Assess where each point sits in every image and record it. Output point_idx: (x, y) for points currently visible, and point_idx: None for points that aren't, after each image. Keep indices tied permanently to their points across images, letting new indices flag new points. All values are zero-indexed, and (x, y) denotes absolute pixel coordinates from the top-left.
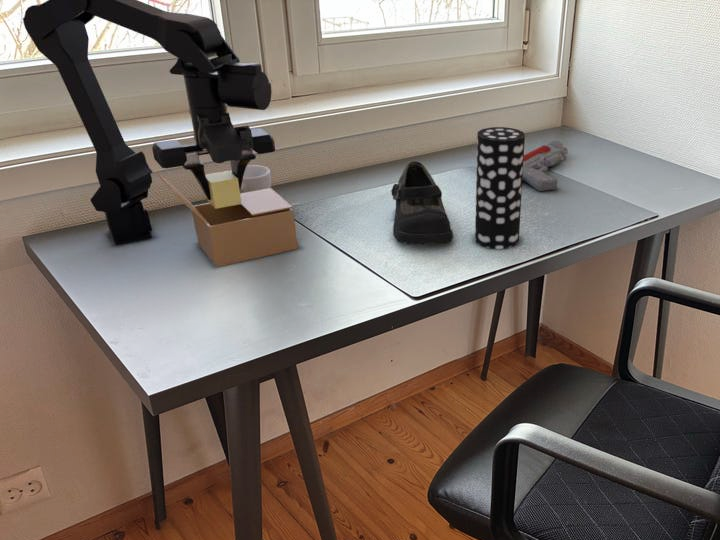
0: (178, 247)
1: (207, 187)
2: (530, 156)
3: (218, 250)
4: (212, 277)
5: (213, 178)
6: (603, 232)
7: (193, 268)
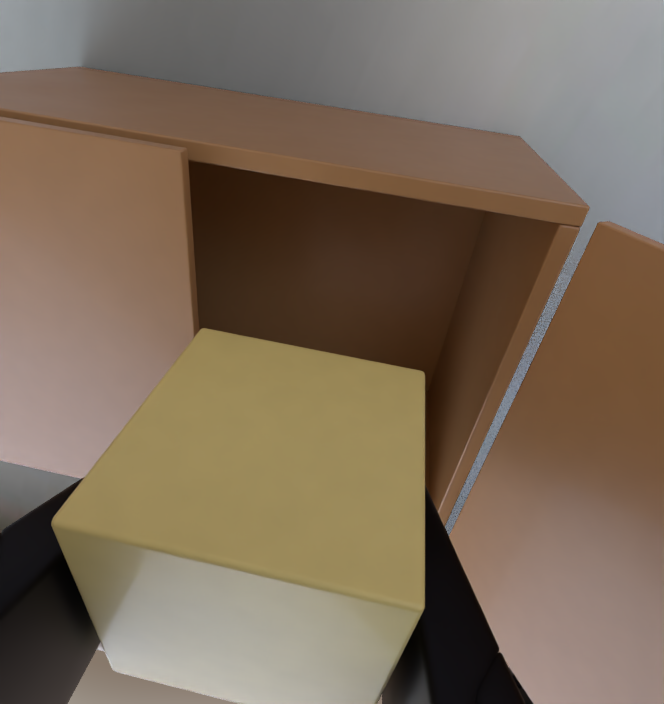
0: (504, 418)
1: (425, 578)
2: None
3: (508, 150)
4: (631, 7)
5: (320, 657)
6: None
7: (609, 204)
